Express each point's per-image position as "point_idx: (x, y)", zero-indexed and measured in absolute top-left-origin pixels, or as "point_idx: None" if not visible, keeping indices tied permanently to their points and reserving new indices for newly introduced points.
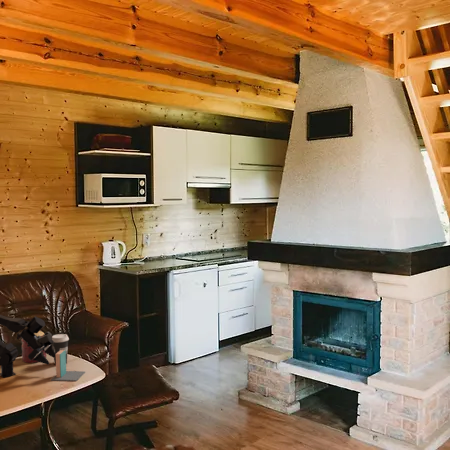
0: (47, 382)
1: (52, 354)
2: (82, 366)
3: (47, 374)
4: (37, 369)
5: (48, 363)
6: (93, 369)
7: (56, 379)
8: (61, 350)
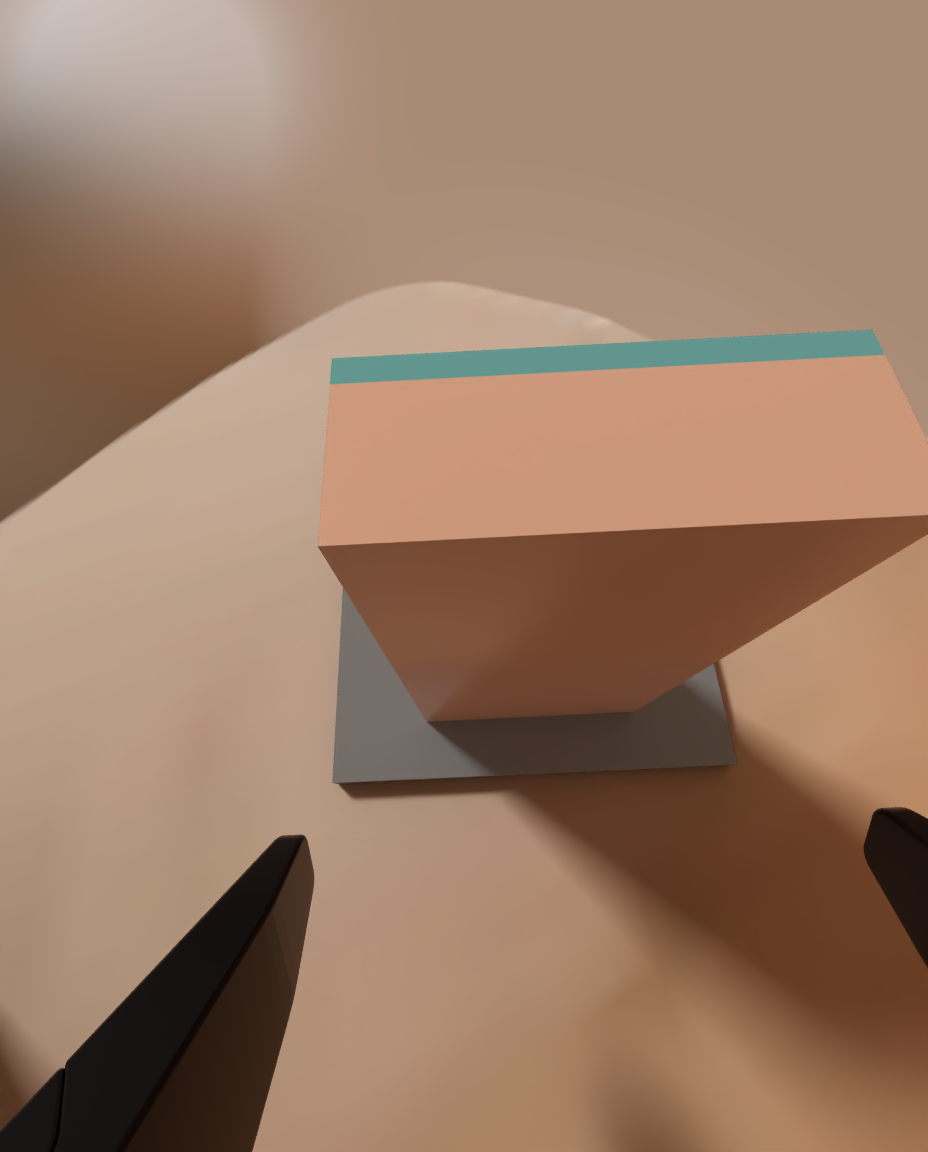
0: (817, 787)
1: (230, 1085)
2: (109, 557)
3: (472, 999)
4: None
5: (920, 834)
6: (242, 395)
7: (711, 670)
8: (373, 491)
